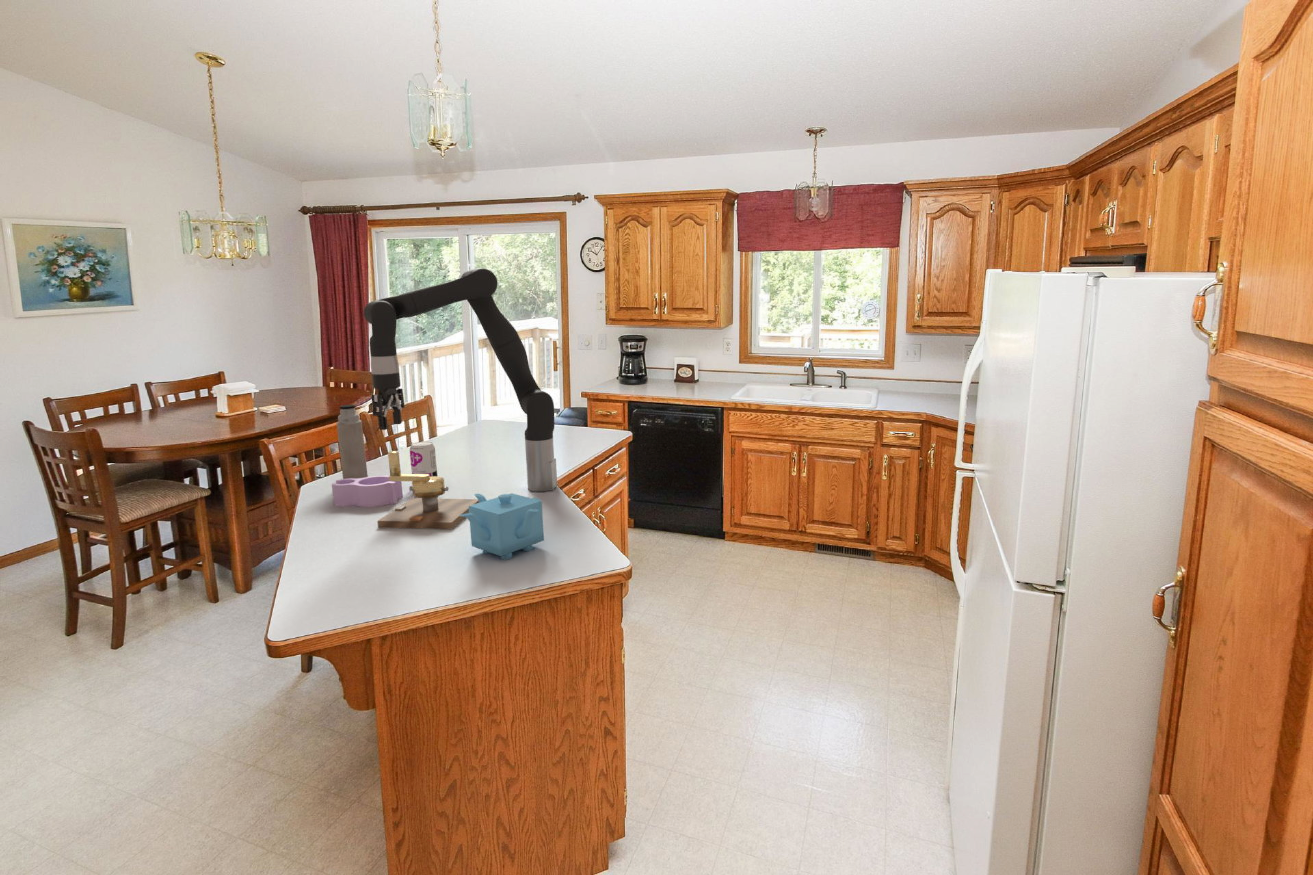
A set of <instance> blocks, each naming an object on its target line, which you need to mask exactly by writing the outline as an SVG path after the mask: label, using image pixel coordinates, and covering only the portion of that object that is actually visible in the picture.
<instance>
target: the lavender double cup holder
mask: <svg viewBox="0 0 1313 875" xmlns="http://www.w3.org/2000/svg"><path fill="white" fill-rule="evenodd" d="M389 476H390V475H374V476H373V475H371V476H368V477H365V478H358V479H355V478H349V479H343V478H342V479H338V480H335V482H334V483H331V490H332V491H331V492H332V499H333V506H336V507H347V506H349V507H350V506H358V507H363V508H374V507H376V508H377V507H383V506H386V505H390V504H393V505H396V504H398V499H400V498H403V496H404V495H403V485H402V481H389Z"/></svg>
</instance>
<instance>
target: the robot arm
mask: <svg viewBox="0 0 1313 875" xmlns="http://www.w3.org/2000/svg"><path fill="white" fill-rule="evenodd" d="M497 289H498V279H497V276H496V275H495V273H494V272H492V271H491V270H490V269H488V268H484V267H478V268H473V269H469V270H467V271H464V272H463V273H462V274H461V276H460V278H456V279H454V280H450V281H447V282H443V283H440V284H438V283H437V284H435V285H430V286H429V285H428V286H426V287H420V288H417V289H414V290H409V291H407V292H403V293H401V294H399V295H395V296H389V297H384V298H380V299H375V300H373V301H370V302H368V303H367V304H366V305H365V307H364V308H363V317H364V319H365V321H366V322H367V323H369V324H370V325H371V336H370V338H369V351H370V352H369V353H370V371H371V372H370V373H371V379H372V380H371V382H372V388H373V389H375V390H377V394H372V395H371V406H372V407H371V408H372V416H373V417H377V420H378V429H379V430H381V431H386V430H388V427H389V426H388V419H387V418H388V417H387V414H388V411H390V409H391V410H392V419H393V424H394V425H401V424H402V423H403V422H402V410H403V409H404V408H405V398H404V391H403V390H404V389H403V388H400V387H401V376H400V375H401V374H400V364H399V360H398V359H399V358H398V354H397V352H398V351H397V345H396V344H397V343H396V334H397V320H400V319H405V318H407V319H408V318H413V317H416V316H419V315H423V314H426V313H430V312H431V311H434V310H437V309H440V308H443V307H446V306H449V305H451V304H455V303H459V302H462V301H467V302H468V304H469V305H470V307H471V309H472V310H473V312H474V314H475V315H476V316H477V319H478V322H479V323H480V325H481V327H482V329H483V332H484V333H485V335H486V337H487V339H488V341H489V342H488V343H489V344H490V346H491V348H492V350H493V352H494V355H495V356H496V359H497V360H498V362H499V363H500V366H501V367H502V369H503V371H504V372H505V374H506V376H507V377H508V379H509V381H510V383H511V385H512V387H513V390H514V393H515V395H516V397H517V401H518V404H519V405H520V409H521V410H522V412H523V413H524V414H525V415H526V425H527V426H526V429H525V430H524V445H525V461H526V463H525V464H526V476H527V477H526V478H527V489H528V491H531V492H549V491H554V490H555V489H556V488H557V486H558V474H557V472H558V470H557V459H556V458H555V452H554V449H555V448H554V447H555V446H554V431H555V405H554V399H553V397H552V396H551V394H549V393H548V392H546V391H544V390H542V389H541V388H540V386H539V385H538V383H537V382H536V380H535V378H534V377H533V374H532V371H531V369H530V365H529V359H528V355H527V350H526V348H525V345H524V343H523V341H522V339H521V337H520V334H519V333H518V331H517V330H516V328H515V327H514V325H513V324H512V323H511V322H510V321H509V320H508V318H506V317H505V315H504V314H503V313H502V312H501V311H500V309H499V308H498V305H497V304H496V302H495V300H494V297H493V295H494V294H495V292H496V291H497Z"/></svg>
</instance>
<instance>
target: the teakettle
mask: <svg viewBox="0 0 1313 875" xmlns="http://www.w3.org/2000/svg"><path fill="white" fill-rule="evenodd" d="M474 496H475V498H476V499H478V500H479V503H477V504H474V505H471V506H469V513H466V514H462V515H460V516H462V517H466V518H465V519H467V520H468V522H469V527H470V529H469V530H470V540H471V543H470V544H471V547H472V548H476V549H478V550H481V551H482V553H483V554H492V555H493V554H494V555H495V556H498V557H500V559H501V560H509V559H512V558H513V553H514V552H517V551H520V550H522V551H524V552H525V551H526V552H530V551H534V550H535V548H534V546H533V545H535V544H538V543H541V542H543V541H545V536H544V517H543V502H542V500H541V499H540V498H537V497H528V496H524V495H520V494H517V493H505V494H500V495H498V497H494V498H491V499H488V500H487V498H486V497H485V496H484V495H483V494H482V493H474Z"/></svg>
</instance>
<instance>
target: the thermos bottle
mask: <svg viewBox="0 0 1313 875" xmlns="http://www.w3.org/2000/svg"><path fill="white" fill-rule="evenodd" d="M339 412H340V414H339V415H338V416H337V420H338V421H337V422H336V429H337V430H336V431H337V438H338V439H337V441H338V447H339V455H340V464H341V472H342V473H341V474H342V479H349V478H355V479H358V478H365V477H369V476H368V466H367V458H366V448H365V439H364V430H363V421H362V420H361V419H360V415H359V413H357V410H356V405H355V404H344V405H340V406H339Z"/></svg>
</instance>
